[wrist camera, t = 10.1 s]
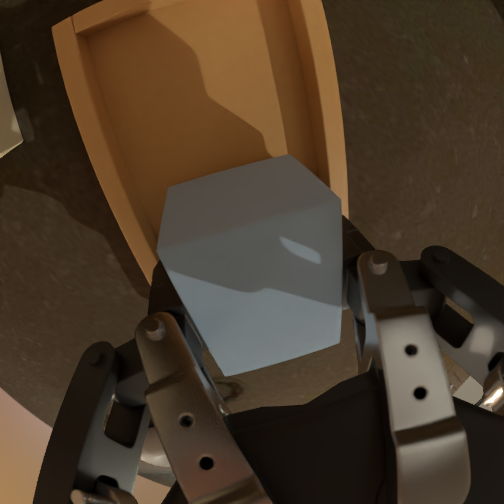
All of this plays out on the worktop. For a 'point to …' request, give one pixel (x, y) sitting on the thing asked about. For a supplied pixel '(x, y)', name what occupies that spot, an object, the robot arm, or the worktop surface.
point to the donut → (154, 449)
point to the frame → (198, 97)
